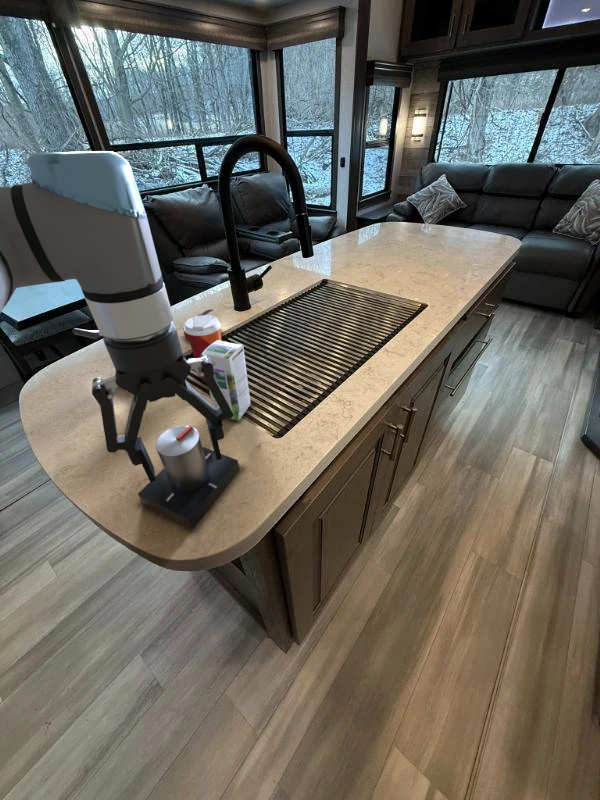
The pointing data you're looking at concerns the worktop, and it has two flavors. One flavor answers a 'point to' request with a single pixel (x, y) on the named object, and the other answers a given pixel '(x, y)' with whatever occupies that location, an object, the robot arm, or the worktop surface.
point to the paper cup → (202, 333)
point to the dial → (183, 458)
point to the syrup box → (230, 375)
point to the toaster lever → (87, 333)
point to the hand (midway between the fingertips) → (185, 463)
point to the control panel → (192, 503)
